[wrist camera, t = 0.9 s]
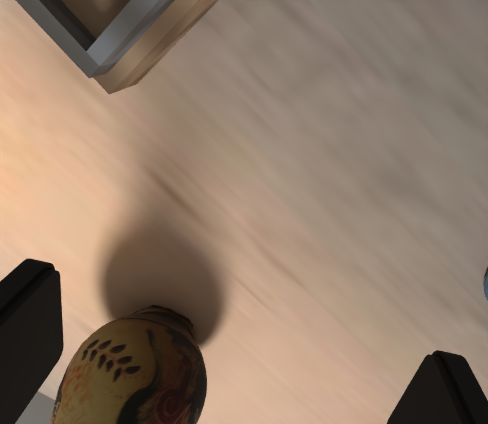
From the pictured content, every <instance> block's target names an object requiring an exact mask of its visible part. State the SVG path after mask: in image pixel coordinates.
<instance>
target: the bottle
mask: <svg viewBox="0 0 488 424" xmlns="http://www.w3.org/2000/svg"><path fill="white" fill-rule="evenodd" d="M484 292H485V295H486V298H487V300H488V271H487V274H486V276H485V279H484Z"/></svg>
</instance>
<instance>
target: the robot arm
mask: <svg viewBox="0 0 488 424" xmlns="http://www.w3.org/2000/svg"><path fill="white" fill-rule="evenodd" d="M62 351H63V325H62V305H61V285H60V273H59V271H56V270H55V268H54V265H53V264H51V263H47V262H43V261H38V260H34V259H26V260H24V261H23V262H22V263H21V264H20V265H18V266H17V267H16V268H15V269H14V270H13V271H12V272H10V273H9V274H8V275H7V276H6V277H5V278H4V279H3V280H1V281H0V424H15V423H16V421H17V420H18V418H19V417H20V416H21V414H22V412H23V411H24V410H25V408H26V407H27V405H28V404H29V403H30V401H31V399H32V398H33V397H34V395H35V394H36V392H37V391H38V389H39V388H40V387H41V385H42V384H43V382H44V381H45V379H46V378H47V376H48V375H49V374H50V372H51V371H52V369H53V368H54V366H55V365H56V363H57V362H58V360H59V359H60V357H61V354H62ZM387 424H488V400H487V399H486V397H485V395H484V393H483V391H482V389H481V387H480V385H479V383H478V381H477V379H476V378H475V376H474V374H473V372H472V370H471V368H470V366H469V364H468V362H467V361H466V359H465V358H464V357H463V356H461V355H457V354H452V353H448V352H444V351H438V350H437V351H435V352H434V353H433V354H432V355H427V356H426V357H425V358H424V360H423V362H422V363H421V365H420V367H419V368H418V370H417V372H416V374H415V375H414V377H413V379H412V380H411V382H410V384H409V385H408V387H407V389H406V390H405V392H404V394H403V396H402V397H401V399H400V401H399V402H398V404H397V406H396V407H395V409H394V411H393V413H392V414H391V416H390V418H389V419H388V422H387Z"/></svg>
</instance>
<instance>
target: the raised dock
mask: <svg viewBox="0 0 488 424" xmlns="http://www.w3.org/2000/svg"><path fill="white" fill-rule="evenodd" d="M16 1H17V2H18V3H19V4H20V5H21V6H22V8H23V9H24V10H25V11H26V12H27V13H28V14H29V15H30V16H31V17H32V18H33V19H34V20H35V21H36V22H37V23H38V25H39V26H40V27H41V28H42V29H43V30H44V31H45V32H46V33H47V34H48V35H49V36H50V37H51V38H52V39H53V41H54V42H55V43H56V44H57V45H58V46H59V47H60V48H61V49H62V50H63V51H64V52H65V53H66V54H67V55H68V56H69V58H70V59H71V60H72V61H73V62H74V63H75V64H76V65H77V66H78V67H79V68H80V69H81V70H82V71H83V72H84V73H85V75H86V76H87V77H88V78H92V77H93V78H94V79H95V80H96V81H97V82H98V83H99V84H100V85H101V86H102V87H103V88H104V89H105V90H106V92H107V93H108V94H112V93H114V92H117V91H119V90H122V89H125V88H127V87H130V86H132V85H135V84H137V83H138V82H139V81H140V80H141V79H142V78H143V77H144V76H145V75H146V74H147V73H148V72H149V71H150V70H151V69H152V68H153V67H154V66H155V65H156V64H157V63H158V61H159V60H160V59H161V58H162V57H163V56H164V55H165V54H166V53H167V52H168V51H169V50H170V49H171V48H172V47H173V46H174V45H175V44H176V43H177V42H178V41H179V40H180V39H181V38H182V37H183V36H184V35H185V34H186V33H187V32H188V31H189V30H190V29H191V28H192V27H193V26H194V25H195V24H196V23H197V22H198V20H199V19H200V18H201V17H202V16H203V15H204V14H205V13H206V12H207V11H208V10H209V9H210V8H211V7H212V6H213V5H214V4H215V3H216V2H217V1H218V0H16Z"/></svg>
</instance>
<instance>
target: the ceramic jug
mask: <svg viewBox="0 0 488 424" xmlns="http://www.w3.org/2000/svg"><path fill="white" fill-rule="evenodd" d="M206 391H207V376H206V368H205V364H204V360H203V357H202V353H201V351H200V349H199V347H198V346H197V344H196V339H195V331H194V329H193V324H192V323H191V322H190V320H189V319H188V318H185V317H184V316H182V315H180V314H178V313H176V312H174V311H173V310H171V309H168V308H164V307H160V306H155V305H152V306H150V307H148V308H146V309H141V310H139V311H137V312H135V314H134V315H132V316H127V317H122V318H119V319H116V320H114V321H111V322H109V323H107V324H106V325H104V326H102V327H101V328H99V329H98V330H97V331H95V332H94V333H93V334H92V335H91V336H90V337H89V338H88V339H87V340H85V341H84V342H83V343H82V344H81V346H80V348H79V349H78V351H77V352H76V353H75V355H74V357H73V358H72V360H71V362H70V363H69V365H68V367H67V369H66V372H65V374H64V377H63V379H62V382H61V384H60V386H59V389H58V393H57V397H56V400H55V404H54V408H53V412H52V416H51V424H197V422H198V420H199V417H200V415H201V412H202V409H203V406H204V402H205V398H206Z"/></svg>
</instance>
